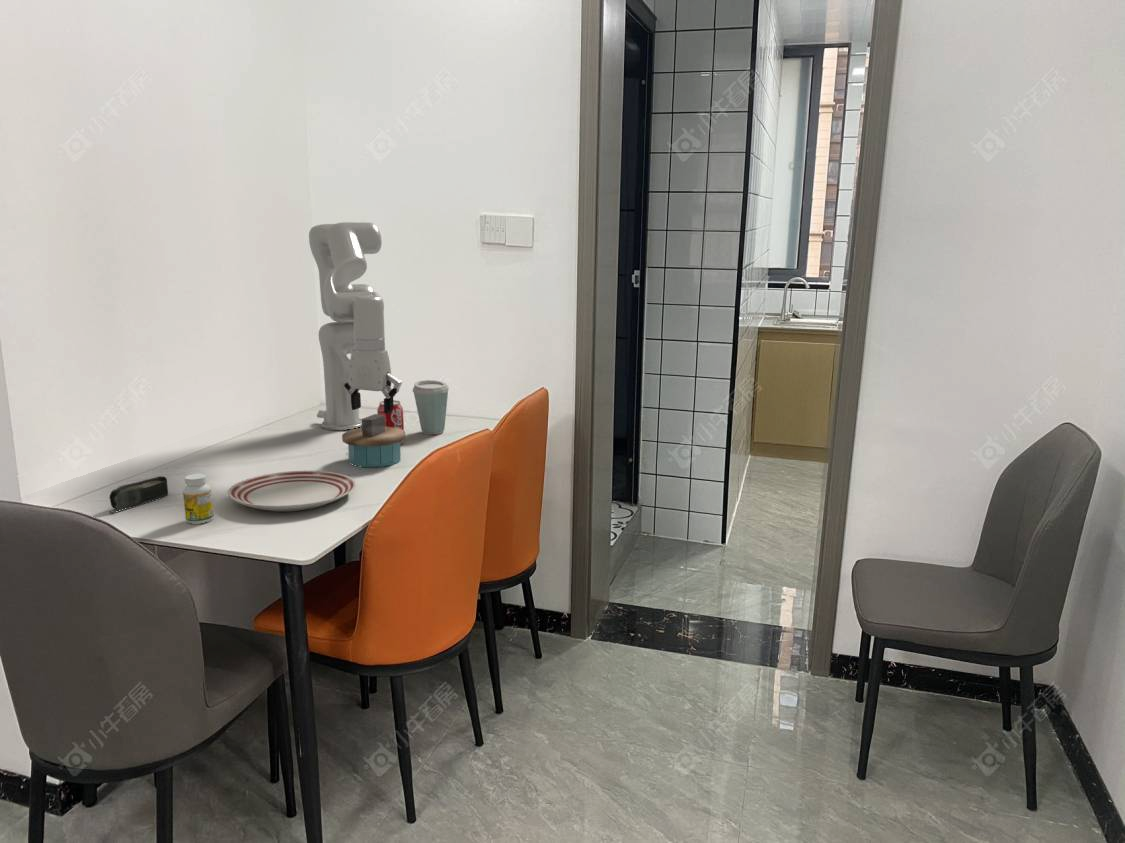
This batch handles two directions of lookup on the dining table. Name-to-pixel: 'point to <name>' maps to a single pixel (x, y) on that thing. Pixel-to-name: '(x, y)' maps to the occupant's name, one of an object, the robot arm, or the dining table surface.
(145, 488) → the black long rounded block
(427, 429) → the disposable coffee cup
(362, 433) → the lid
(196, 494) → the supplement bottle
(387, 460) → the bowl
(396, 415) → the soda can
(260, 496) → the dinner plate
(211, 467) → the dining table surface
